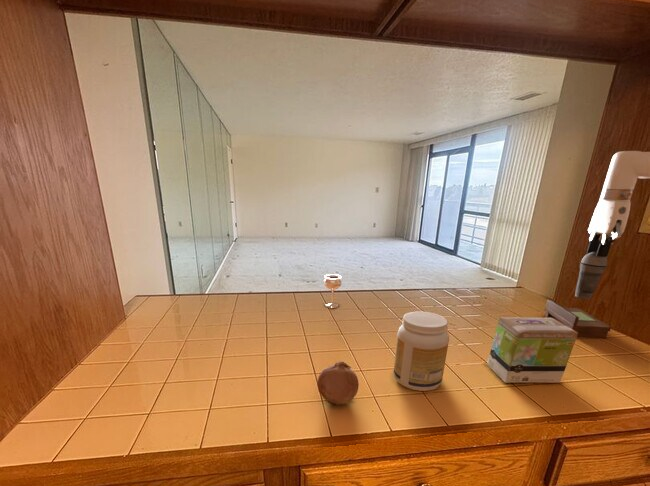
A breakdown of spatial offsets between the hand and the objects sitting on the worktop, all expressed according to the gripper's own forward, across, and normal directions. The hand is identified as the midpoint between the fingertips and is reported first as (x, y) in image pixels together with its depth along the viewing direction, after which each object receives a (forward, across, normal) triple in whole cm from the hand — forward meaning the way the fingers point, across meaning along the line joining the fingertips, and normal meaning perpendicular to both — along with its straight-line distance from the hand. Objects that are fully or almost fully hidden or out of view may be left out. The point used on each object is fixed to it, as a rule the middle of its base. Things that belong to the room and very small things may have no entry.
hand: (596, 254), depth 113 cm
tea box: (+26, -36, +33) cm, 55 cm away
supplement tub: (+26, -42, +62) cm, 79 cm away
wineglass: (+26, +10, +87) cm, 91 cm away
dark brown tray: (+26, 0, 0) cm, 26 cm away
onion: (+26, -53, +82) cm, 101 cm away
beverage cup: (+15, 0, 0) cm, 15 cm away
